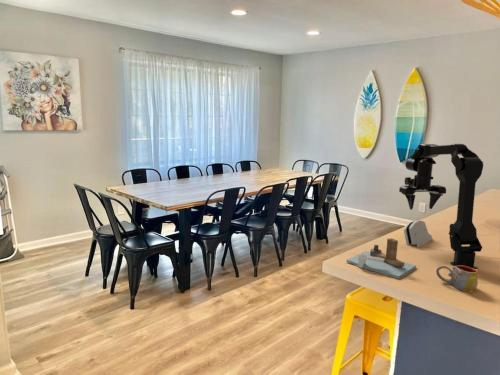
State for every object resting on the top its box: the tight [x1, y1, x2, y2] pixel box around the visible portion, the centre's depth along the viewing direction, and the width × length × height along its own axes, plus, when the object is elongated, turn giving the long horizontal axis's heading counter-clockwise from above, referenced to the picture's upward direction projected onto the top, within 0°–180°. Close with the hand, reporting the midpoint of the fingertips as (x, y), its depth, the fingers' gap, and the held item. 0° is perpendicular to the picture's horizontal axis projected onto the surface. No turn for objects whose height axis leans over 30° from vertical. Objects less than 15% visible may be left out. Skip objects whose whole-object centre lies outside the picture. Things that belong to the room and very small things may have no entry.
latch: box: [369, 238, 405, 267], centre depth 138 cm, size 14×4×8 cm, turn 26°
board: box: [346, 250, 417, 280], centre depth 137 cm, size 20×14×1 cm
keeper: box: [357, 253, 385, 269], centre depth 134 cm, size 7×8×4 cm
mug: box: [435, 265, 479, 293], centre depth 121 cm, size 12×7×7 cm, turn 50°
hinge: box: [403, 220, 433, 248], centre depth 165 cm, size 17×5×10 cm, turn 135°
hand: (420, 209), depth 162 cm, fingers open, 9 cm apart
